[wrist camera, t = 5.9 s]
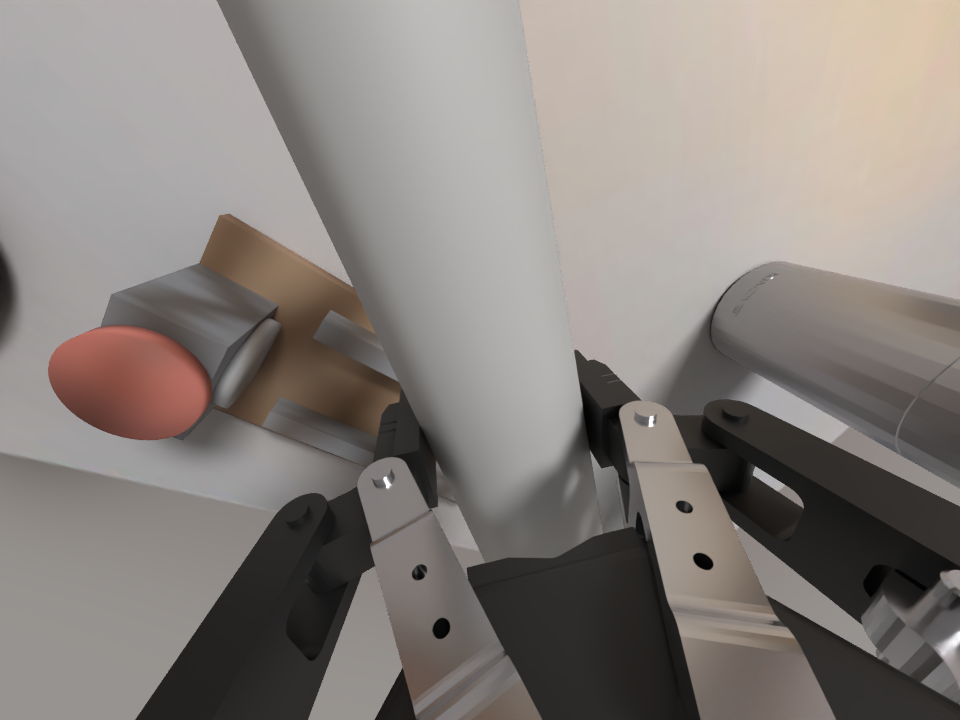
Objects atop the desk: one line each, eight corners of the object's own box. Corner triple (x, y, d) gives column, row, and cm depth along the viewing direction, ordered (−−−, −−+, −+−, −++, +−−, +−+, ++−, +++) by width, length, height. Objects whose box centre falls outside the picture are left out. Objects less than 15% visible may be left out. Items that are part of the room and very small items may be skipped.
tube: (644, 622, 16) (561, -506, 3) (550, 706, 14) (-163, -749, 2) (567, 533, 20) (414, -98, 8) (490, 590, 19) (156, -80, 6)
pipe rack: (544, 401, 32) (587, 478, 24) (460, 494, 37) (471, 589, 28) (220, 208, 22) (89, 225, 13) (152, 372, 26) (19, 465, 17)
